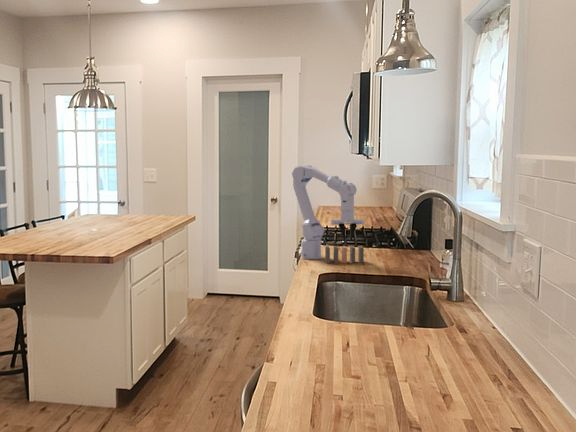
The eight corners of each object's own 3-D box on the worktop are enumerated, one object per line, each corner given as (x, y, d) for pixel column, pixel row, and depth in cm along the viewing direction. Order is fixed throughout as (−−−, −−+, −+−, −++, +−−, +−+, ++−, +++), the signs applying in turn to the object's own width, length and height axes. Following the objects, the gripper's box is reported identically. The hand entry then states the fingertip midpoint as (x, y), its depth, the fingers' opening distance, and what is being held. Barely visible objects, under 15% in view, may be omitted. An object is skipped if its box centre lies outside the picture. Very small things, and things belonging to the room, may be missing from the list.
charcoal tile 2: (351, 263, 223) (351, 247, 222) (350, 261, 228) (350, 245, 227) (355, 263, 223) (355, 247, 222) (353, 260, 228) (353, 245, 227)
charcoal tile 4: (334, 263, 223) (335, 248, 222) (333, 261, 228) (333, 246, 227) (338, 263, 223) (338, 248, 222) (336, 261, 228) (336, 246, 227)
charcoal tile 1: (360, 263, 223) (360, 247, 222) (358, 260, 228) (358, 245, 227) (363, 263, 223) (363, 247, 223) (361, 260, 228) (361, 245, 227)
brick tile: (343, 263, 223) (343, 248, 222) (341, 261, 228) (341, 246, 227) (346, 263, 223) (346, 247, 222) (345, 261, 228) (345, 246, 227)
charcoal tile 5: (326, 263, 223) (326, 248, 222) (325, 261, 228) (325, 246, 227) (329, 263, 223) (329, 248, 222) (328, 261, 228) (328, 246, 227)
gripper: (332, 211, 218) (332, 242, 220) (365, 211, 219) (365, 241, 220) (330, 209, 225) (330, 239, 227) (362, 209, 226) (362, 238, 227)
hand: (347, 240), depth 224 cm, fingers closed
